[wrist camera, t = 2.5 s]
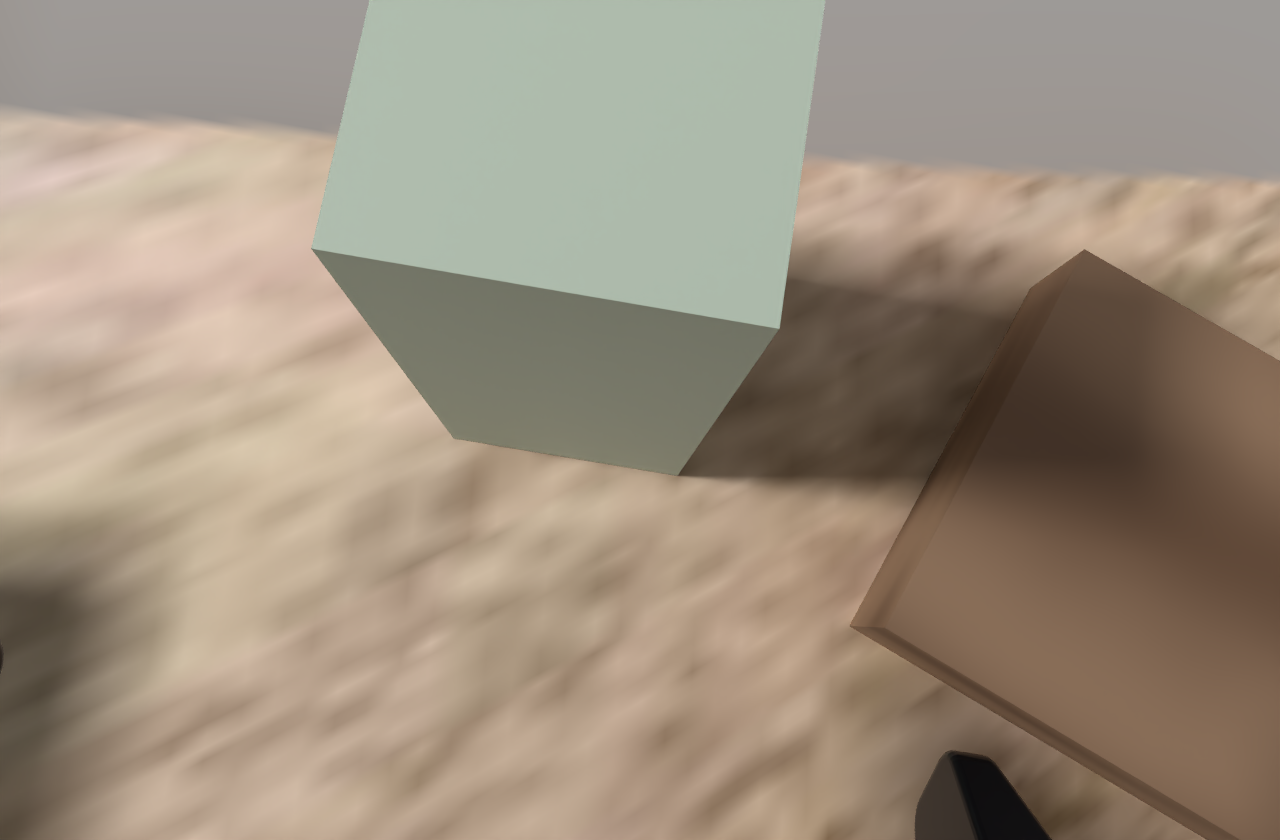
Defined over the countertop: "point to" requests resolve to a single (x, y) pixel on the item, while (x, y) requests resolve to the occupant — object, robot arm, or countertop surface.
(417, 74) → the sage pillar block
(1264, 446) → the walnut base block
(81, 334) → the countertop surface
